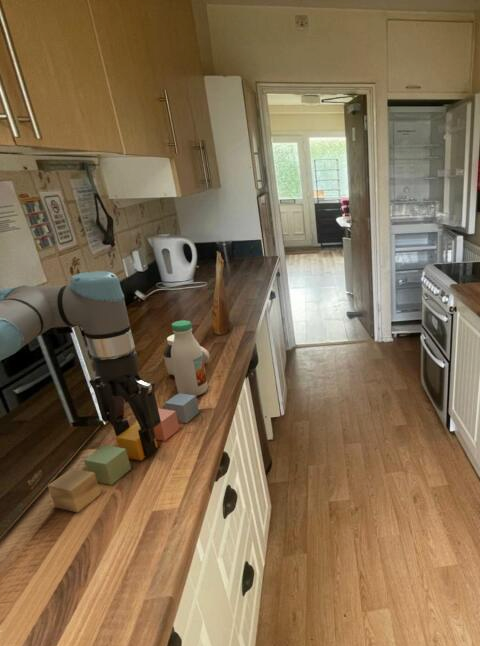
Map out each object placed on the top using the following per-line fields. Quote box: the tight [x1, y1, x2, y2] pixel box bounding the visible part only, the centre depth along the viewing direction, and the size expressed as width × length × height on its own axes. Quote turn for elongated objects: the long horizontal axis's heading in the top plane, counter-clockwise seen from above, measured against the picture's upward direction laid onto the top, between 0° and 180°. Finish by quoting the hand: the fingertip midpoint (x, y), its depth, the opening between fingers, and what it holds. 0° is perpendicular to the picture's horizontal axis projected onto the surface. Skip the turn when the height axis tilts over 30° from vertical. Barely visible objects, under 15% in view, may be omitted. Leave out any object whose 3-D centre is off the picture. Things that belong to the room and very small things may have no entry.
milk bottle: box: [171, 319, 209, 397], centre depth 114 cm, size 8×8×20 cm
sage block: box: [83, 444, 132, 486], centre depth 85 cm, size 5×5×5 cm
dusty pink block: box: [154, 407, 180, 442], centre depth 98 cm, size 5×5×5 cm
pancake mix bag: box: [212, 250, 230, 336], centre depth 158 cm, size 7×19×28 cm, turn 16°
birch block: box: [47, 467, 102, 513], centre depth 78 cm, size 5×5×5 cm
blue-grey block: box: [164, 392, 200, 424], centre depth 105 cm, size 5×5×5 cm
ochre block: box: [115, 424, 158, 461], centre depth 91 cm, size 5×5×5 cm
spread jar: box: [163, 333, 211, 378], centre depth 127 cm, size 12×11×12 cm
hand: (139, 450), depth 92 cm, fingers closed on ochre block, 5 cm apart
